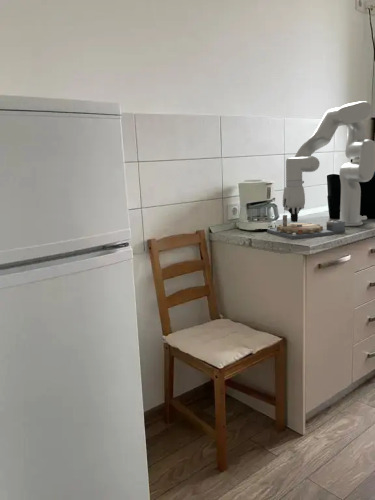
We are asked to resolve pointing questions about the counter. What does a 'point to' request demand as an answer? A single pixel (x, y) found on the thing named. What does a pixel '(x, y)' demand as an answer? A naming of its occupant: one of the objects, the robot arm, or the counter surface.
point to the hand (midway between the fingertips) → (294, 221)
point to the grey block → (336, 226)
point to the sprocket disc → (298, 227)
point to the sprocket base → (299, 236)
